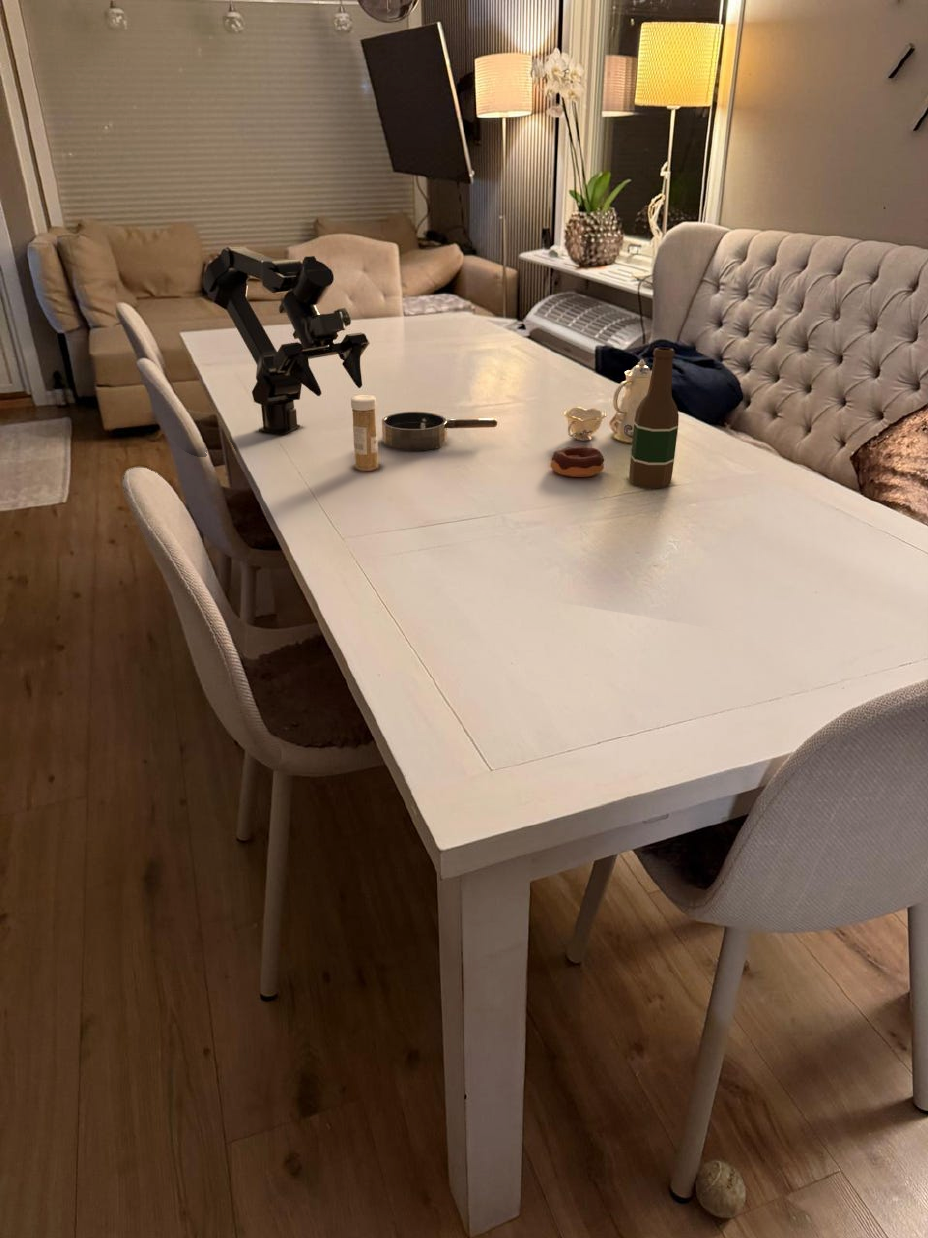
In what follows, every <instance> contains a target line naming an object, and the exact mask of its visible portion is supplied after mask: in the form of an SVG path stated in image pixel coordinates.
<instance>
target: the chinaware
mask: <svg viewBox="0 0 928 1238" xmlns="http://www.w3.org/2000/svg"><path fill="white" fill-rule="evenodd" d="M651 373H652V370H650V367H649V366H647V365H646V362H645V360H644V359H643V358H641V359H640V360H639V362H637V365H635V366H633V367H632V368H631V369H630V370H629V369H628V370H626V371H624V374H625V380H624V381H621V382H620V383H619V384H618V386H617V387H616V389H615V391H614V394H613V399H612V406H613V409H614V410H615V413H614V415H613V416H612V417H611V419H610V420H609V424H608V426H609V428H610V430H611V431H612V432H613V433H614V435H613V438H614V439H615V440H616V441H619V442H621V443H626V444H632V440H633V430H634V420H635V415H636V410H637V408H638V406H639V404H640V402H641V401H642V400H643V399H644V397H645V396H646V395H647V392H648V389H649V385H650V379H651ZM623 387H624V388H625V390H624V395H623V396H622V397H621V400H620V406H618V401H619V394H620V393H621V391H622V389H623ZM562 414H563V415H564V416H565V417H566V422H567V425H568V427H567V435H568V436H569V437H573V438H574V440H577V441H578V440H579V441H582V442H584V441H591V440H592V435H594V434H595V433H596V432H597V431H598V430H599V429H600V428H601V424H602V421H603V420H604V418H607V413H606V412H602V411H601V410H600V409H598V408H589V409H584V408H583V407H577V406H576V407H574V408H571V409H570V410H569V411H567V410H564V411H563V412H562ZM571 432H572V433H571Z"/></svg>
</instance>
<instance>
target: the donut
mask: <svg viewBox="0 0 928 1238" xmlns="http://www.w3.org/2000/svg"><path fill="white" fill-rule="evenodd" d="M550 461H551V462H550V464H549V465H550V468H551V469H552V470H553V471H554V472H555V473H556V474H558V475H561V476H566V477H571V478H587V477H588V478H589V477H594V476H596V475H598V474H599V473H601V472H602V471H603V470H604V469H605V464H604V463H605V457H604V455H603V453H602V452H601V451H600V450H599V449H598V448H595V447H589V446H568V447H564V448H560V449H557V450H556V451H554V452H553V454H552V456H551V459H550Z"/></svg>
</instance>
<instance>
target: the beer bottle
mask: <svg viewBox="0 0 928 1238" xmlns="http://www.w3.org/2000/svg"><path fill="white" fill-rule="evenodd" d="M652 355H653V356H654V357H653V361H652V369H651V371H652V373H651V379H650V385H649V389H648V392H647V395H646V396H645V397H644V399H643V400H642V401H641V402H640V404H639V406H638V408H637V410H636V415H635V420H634V430H633V440H632V443H631V451H630V461H629V473H628V475H629V476H628V478H629V480H630V482H631V484H632V485H633V486H637V487H640V488H643V489H663V488H665V487H667V486H669V485H670V484H671V482H672V478H673V472H674V462H675V455H676V446H677V439H678V433H679V432H678V431H679V417H680V415H679V411H678V410H679V409H678V406H677V404H676V402H675V400H674V399H673V395H672V393H673V392H672V381H673V365H674V363H673V361H674V357H675V356H676V353H675V350H674V349H673V348H671V347H667V346H659V347H656V348H654V350H653V352H652Z"/></svg>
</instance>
